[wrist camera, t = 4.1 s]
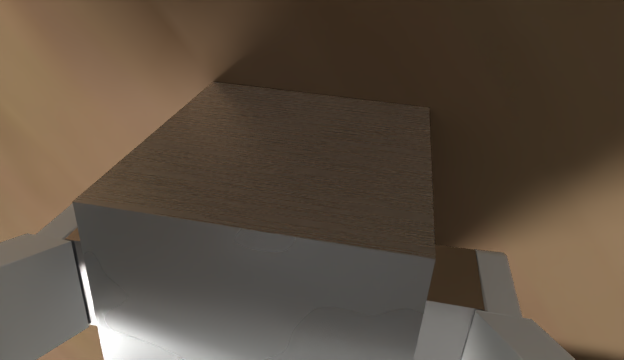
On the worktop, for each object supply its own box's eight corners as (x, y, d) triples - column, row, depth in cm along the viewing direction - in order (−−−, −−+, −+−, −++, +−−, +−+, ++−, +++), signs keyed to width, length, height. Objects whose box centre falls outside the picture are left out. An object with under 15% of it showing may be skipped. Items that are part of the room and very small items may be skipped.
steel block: (428, 107, 10) (436, 260, 6) (397, 282, 12) (384, 488, 8) (212, 81, 11) (72, 201, 6) (219, 253, 13) (118, 429, 9)
